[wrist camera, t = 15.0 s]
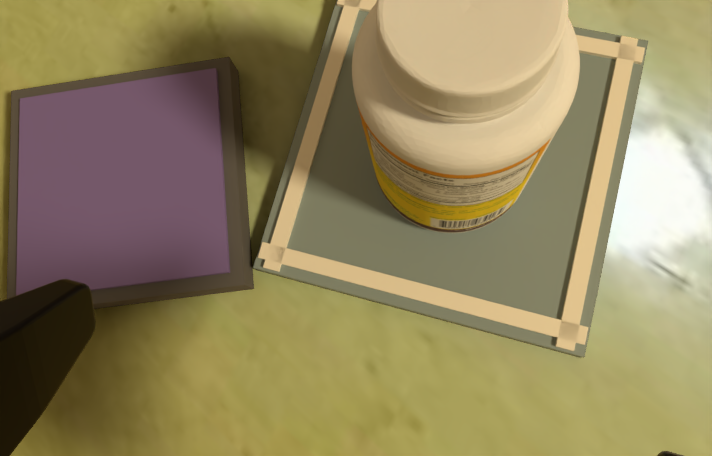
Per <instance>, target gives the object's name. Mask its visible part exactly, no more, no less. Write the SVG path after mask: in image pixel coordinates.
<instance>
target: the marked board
mask: <svg viewBox="0 0 712 456" xmlns="http://www.w3.org/2000/svg"><path fill="white" fill-rule="evenodd" d="M376 2H377V0H337V1H336V4H335V7H334V11H333V14H332V17H331V20H330V23H329V27H328V30H327V33H326V36H325V39H324V43H323V46H322V49H321V52H320V55H319V59H318V62H317V65H316V68H315V71H314V75H313V78H312V81H311V84H310V87H309V91H308V94H307V97H306V100H305V103H304V107H303V110H302V113H301V116H300V119H299V123H298V126H297V129H296V132H295V135H294V139H293V142H292V145H291V148H290V151H289V155H288V158H287V161H286V164H285V167H284V171H283V174H282V177H281V180H280V183H279V187H278V190H277V193H276V196H275V199H274V203H273V206H272V209H271V212H270V215H269V219H268V222H267V225H266V228H265V231H264V235H263V238H262V241H261V244H260V247H259V251H258V254H257V257H256V260H255V263H254V267H253V268H254V269H256V270H258V271H262V272H266V273H270V274H273V275H277V276H281V277H284V278H288V279H292V280H295V281H299V282H303V283H307V284H310V285H314V286H318V287H321V288H325V289H329V290H332V291H336V292H340V293H343V294H347V295H351V296H355V297H358V298H362V299H366V300H369V301H373V302H377V303H380V304H384V305H388V306H392V307H395V308H399V309H403V310H406V311H410V312H414V313H417V314H421V315H425V316H428V317H432V318H436V319H440V320H443V321H447V322H451V323H454V324H458V325H462V326H465V327H469V328H473V329H477V330H480V331H484V332H488V333H491V334H495V335H499V336H502V337H506V338H510V339H513V340H517V341H521V342H525V343H528V344H532V345H536V346H539V347H543V348H547V349H550V350H554V351H558V352H562V353H565V354H569V355H573V356H576V357H585V352H586V347H587V342H588V337H589V332H590V327H591V322H592V317H593V312H594V307H595V302H596V297H597V292H598V287H599V282H600V278H601V273H602V268H603V263H604V258H605V253H606V248H607V243H608V238H609V233H610V228H611V223H612V218H613V213H614V208H615V203H616V198H617V193H618V188H619V183H620V178H621V173H622V169H623V164H624V159H625V154H626V149H627V144H628V139H629V134H630V129H631V124H632V119H633V114H634V109H635V104H636V99H637V94H638V89H639V84H640V79H641V74H642V69H643V65H644V60H645V55H646V50H647V45H648V41H646V40H641V39H636V38H630V37H625V36H619V35H614V34H609V33H603V32H598V31H592V30H587V29H582V28H576V27H573V28H574V31H575V34H576V38H577V42H578V48H579V56H580V72H579V81H578V86H577V90H576V94H575V97H574V100H573V102H572V104H571V106H570V109H569V111H568V113H567V115H566V117H565V118H564V120H563V122H562V124H561V125H560V127H559V129H558V130H557V132H556V134H555V135H554V137H553V139H552V141H551V142H550V144H549V146H548V148H547V150H546V151H545V153H544V155H543V156H542V158H541V160H540V161H539V163H538V165H537V167H536V169H535V170H534V172H533V174H532V176H531V177H530V179H529V181H528V182H527V184H526V186H525V188H524V189H523V191H522V193H521V194H520V196H519V197H518V199H517V200H516V202H515V203H514V204H513V205H512V207H511V208H510V209H509V210H508V211H507V212H506V213H504V214H503V215H502V216H501V217H499V218H498V219H497V220H495V221H494V222H492V223H490V224H488V225H486V226H484V227H482V228H479V229H476V230H472V231H468V232H463V233H441V232H435V231H431V230H428V229H425V228H422V227H420V226H418V225H415V224H413V223H412V222H410V221H408V220H407V219H405V218H404V217H403V216H402V215H400V214H399V213H398V212H397V211H396V210H395V209H394V208H393V207H392V206H391V204H390V203H389V202H388V200H387V199H386V197H385V196H384V194H383V192H382V190H381V188H380V186H379V184H378V181H377V178H376V174H375V170H374V166H373V162H372V159H371V155H370V151H369V147H368V144H367V140H366V136H365V132H364V129H363V125H362V120H361V116H360V113H359V109H358V105H357V102H356V98H355V93H354V88H353V81H352V57H353V51H354V46H355V42H356V38H357V35H358V33H359V30H360V28H361V26H362V24H363V22H364V20H365V18H366V16H367V15H368V13H369V12H370V10H371V9H372V7H373V6H374V5H375V4H376Z"/></svg>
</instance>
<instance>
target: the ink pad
mask: <svg viewBox="0 0 712 456" xmlns="http://www.w3.org/2000/svg"><path fill="white" fill-rule="evenodd" d="M60 279H70V280H74V281H77V282H81V283H84V284H86V285H88V286H89V288H90V289H91V294H92V301H93V307H94V309H97V308H105V307H113V306H121V305H129V304H137V303H145V302H153V301H161V300H169V299H176V298H184V297H192V296H200V295H208V294H216V293H224V292H232V291H240V290H248V289H254V284H253V270H252V257H251V243H250V229H249V215H248V201H247V187H246V173H245V159H244V146H243V132H242V118H241V104H240V90H239V76H238V70H237V69H236V67H235V65H234V64H233V62H232V61H231V59H230V58H229V57H225V58H219V59H212V60H206V61H200V62H193V63H187V64H181V65H174V66H168V67H161V68H155V69H149V70H142V71H136V72H130V73H123V74H117V75H110V76H104V77H98V78H91V79H85V80H79V81H72V82H66V83H60V84H53V85H47V86H40V87H34V88H28V89H21V90H15V91H11V136H10V181H9V226H8V271H7V299H8V298H11V297H14V296H16V295H19V294H22V293H25V292H27V291H30V290H33V289H35V288H38V287H41V286H44V285H46V284H49V283H52V282H54V281H57V280H60Z"/></svg>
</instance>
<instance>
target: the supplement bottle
mask: <svg viewBox="0 0 712 456" xmlns="http://www.w3.org/2000/svg"><path fill="white" fill-rule="evenodd" d="M579 72H580V56H579V48H578V42H577V38H576V34H575V31H574V28H573V26H572V24H571V22H570V20H569V18H568V0H377V2H376V4H375V5H374V6H373V7H372V9H371V10H370V12H369V13H368V15H367V16H366V18H365V20H364V22H363V24H362V26H361V28H360V30H359V33H358V35H357V38H356V42H355V46H354V51H353V57H352V81H353V88H354V93H355V98H356V102H357V105H358V109H359V113H360V116H361V120H362V125H363V129H364V132H365V136H366V140H367V144H368V147H369V151H370V155H371V159H372V162H373V166H374V170H375V174H376V178H377V181H378V184H379V186H380V188H381V190H382V192H383V194H384V196H385V197H386V199H387V200H388V202H389V203H390V204H391V206H392V207H393V208H394V209H395V210H396V211H397V212H398V213H399V214H400V215H402V216H403V217H404V218H405V219H407V220H408V221H410V222H412V223H413V224H415V225H418V226H420V227H422V228H425V229H428V230H431V231H435V232H441V233H463V232H468V231H472V230H476V229H479V228H482V227H484V226H486V225H488V224H490V223H492V222H494V221H495V220H497V219H498V218H499V217H501V216H502V215H503V214H504V213H506V212H507V211H508V210H509V209H510V208H511V207H512V205H513V204H514V203H515V202H516V200H517V199H518V197H519V196H520V194H521V193H522V191H523V189H524V188H525V186H526V184H527V182H528V181H529V179H530V177H531V176H532V174H533V172H534V170H535V169H536V167H537V165H538V163H539V161H540V160H541V158H542V156H543V155H544V153H545V151H546V150H547V148H548V146H549V144H550V142H551V141H552V139H553V137H554V135H555V134H556V132H557V130H558V129H559V127H560V125H561V124H562V122H563V120H564V118H565V117H566V115H567V113H568V111H569V109H570V106H571V104H572V102H573V100H574V97H575V94H576V90H577V86H578V81H579Z"/></svg>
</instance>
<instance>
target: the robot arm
mask: <svg viewBox="0 0 712 456" xmlns="http://www.w3.org/2000/svg"><path fill="white" fill-rule="evenodd" d="M94 329H95V314H94V307H93V301H92V294H91V289H90V288H89V286H88V285H86V284H84V283H81V282H77V281H74V280H70V279H60V280H57V281H54V282H52V283H49V284H46V285H44V286H41V287H38V288H35V289H33V290H30V291H27V292H25V293H22V294H19V295H16V296H14V297H11V298H8V299H6V300H3V301H0V456H10V455H11V453H12V452H13V451H14V450H15V448H16V447H17V446H18V444H19V443H20V442H21V441H22V439H23V438H24V437H25V435H26V434H27V433H28V432H29V430H30V429H31V428H32V427H33V425H34V424H35V423H36V421H37V420H38V419H39V417H40V416H41V415H42V413H43V412H44V410H45V409H46V407H47V406H48V404H49V403H50V401H51V400H52V398H53V397H54V395H55V393H56V392H57V390H58V389H59V387H60V385H61V384H62V382H63V381H64V379H65V378H66V376H67V374H68V373H69V371H70V370H71V368H72V366H73V365H74V363H75V362H76V360H77V359H78V357H79V355H80V354H81V352H82V351H83V349H84V348H85V346H86V344H87V343H88V341H89V340H90V338H91V336H92V334H93V332H94ZM657 456H683V455H679V454H676V453H672V452H669V451H662V452H661V453H659V454H658V455H657Z"/></svg>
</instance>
